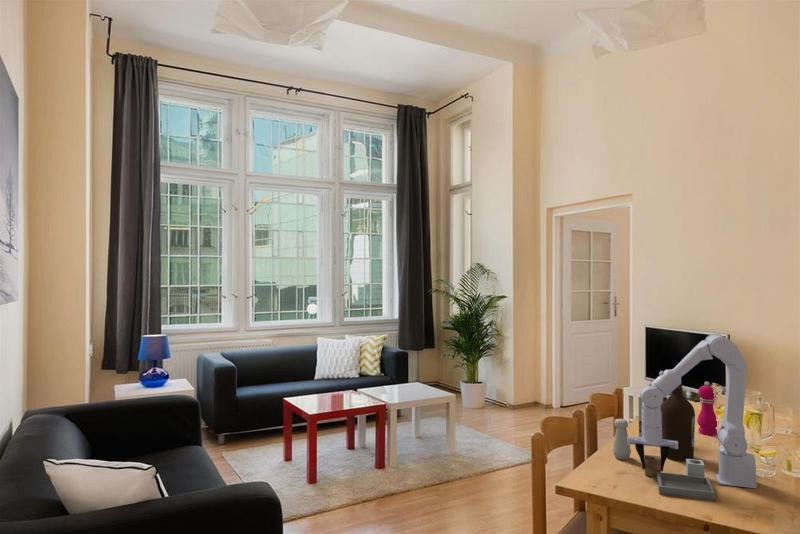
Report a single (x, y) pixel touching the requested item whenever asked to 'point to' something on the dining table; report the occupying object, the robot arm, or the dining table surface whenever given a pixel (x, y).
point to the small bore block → (652, 465)
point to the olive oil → (679, 425)
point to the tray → (685, 486)
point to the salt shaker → (621, 440)
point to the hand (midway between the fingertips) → (652, 469)
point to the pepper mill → (707, 411)
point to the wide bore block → (695, 468)
